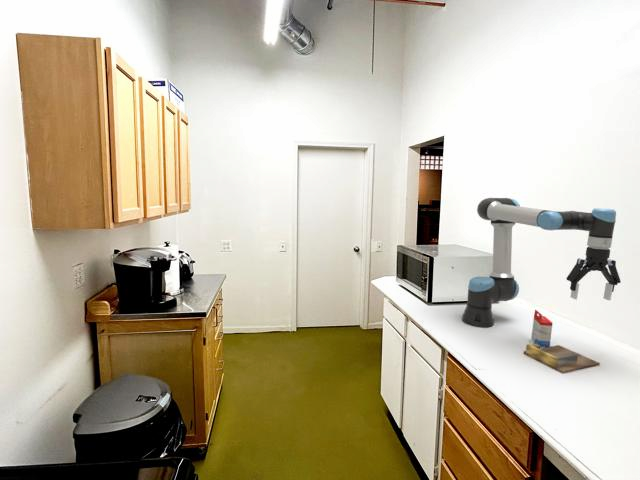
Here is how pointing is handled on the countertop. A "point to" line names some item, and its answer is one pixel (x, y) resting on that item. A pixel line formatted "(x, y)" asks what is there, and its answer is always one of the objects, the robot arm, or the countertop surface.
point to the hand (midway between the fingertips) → (590, 298)
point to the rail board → (569, 367)
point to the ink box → (541, 330)
